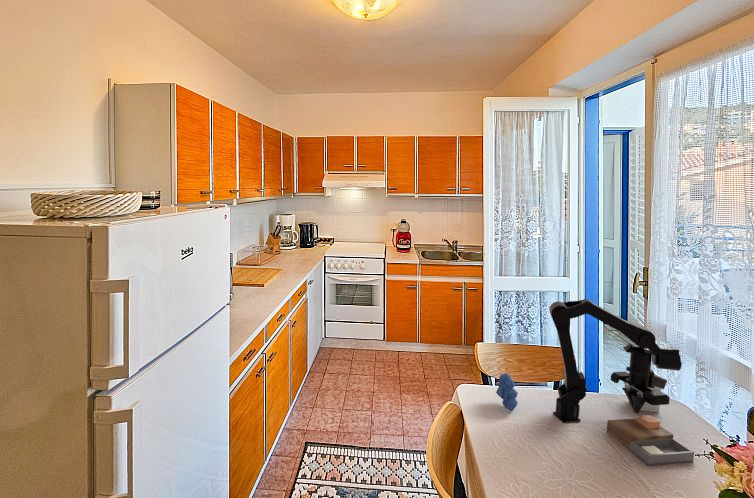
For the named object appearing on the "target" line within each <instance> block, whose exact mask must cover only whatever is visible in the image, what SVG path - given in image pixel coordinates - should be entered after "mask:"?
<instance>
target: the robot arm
mask: <svg viewBox="0 0 754 498" xmlns="http://www.w3.org/2000/svg"><path fill="white" fill-rule="evenodd" d="M548 309H549V313H550V317H551V319H552V321H553V324H554V326H555V328H556V332H557V336H558V342H559V346H560V351H561V356H562V361H563V366H564V375H563V376H564V377H563V379H564V380H563V382H564V383H563V384H561V385H560V386H558V387H557V388H556V389H557V393H558V394H557V395H558V397H556V399H555V401H556V403H555V404H556V405H555V411H552V414H553V416H555V417H556V418H557V419H558V420H560V421H561V422H562V423H579V422H581V421H582V420H581V419H580V418H579V417H580V407H581V406H580V401H582V400H583V399H584V398H585V397H586V396H587V392H588V391H589V390H588V388H587V385H586V378H585V375H584V373H583V372H582V371H581V372H578V368H577V366H578V365H577V362H576V357H575V353H574V348H573V342H572V337H571V333H570V332H571V331H570V328H571V320H572V319H575V318H578V317H579V318H580V317H581V316H584V315H589V316H591V317H593V318H594V319H597V320H598V321H600V322H602V323H603V324H605V325H607V326H609V327H611V328H613V329H615V330H617V331H618V332H620V333H621V334H623V336H625V337H626V338H627V339H629V340H630V341H632V343H633V344H635V346H634V345H632V343H631V342H630V343H628V344H627V345H624V346H623V348H622V349H623V350H624V351H625V352H626V353H629V357H630V358H629V366H625V367H626V369H625V370H626V371H613V373H611V374H610V381H612V382H613V383H614V384H619V382H620V381H621V382H623V384H624V387H622V391H623V392H624V393H625V395H626V398H627V400H628V401H629V404H630V407H631V409H632V411H633V413H635V414H639V413H640V412H641V408H642V406H643V405H644V403H645V402H647V403H649V404H650V405H660V406H667V405H670V400H671V399H670V396H669V395H668V394H666V393H665V392H663V391H662V390H665V388H666V385H667V382H668V380H667V379H665V378H664V377H662V376H661V375H659V374H658V375H659V376H658V375H656V374H654V371H655V370H654V369H651V368H652V367H651V366H652V365H653V366H656V367H655V368H656V369H657V370H658V369H659V370H668V371H677V372H678V371H679V372H680V370H681V369H682V365H683V362H682V359H681V355H680V350H679V348H677V347H661V346H659V345H658V344H657V343H656V336H655V334H654V333H653V332H652V331H651V330H650V329H648V327H646V326H644V325H642V324H639V323H635V322H632V321H628V320H625V319H624V318H622V317H620V316H618V315H616V314H615V313H613V312H610V311H609V310H607V309H605V308H603V307H601V306H600V305H598V304H596V303H594V302H593V301H592V300H590V299H587V298H585V299H581V300H571V301H569V300H568V301H565V302H563V301H553V302H552V303H551V304H550V306H549V308H548ZM655 386H656V387H659V388H661V391H659V390H651V389H649V388H655Z"/></svg>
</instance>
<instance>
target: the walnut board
mask: <svg viewBox="0 0 754 498" xmlns="http://www.w3.org/2000/svg"><path fill="white" fill-rule="evenodd" d="M638 418H639V417H638ZM638 418H636V417H635V418H625V419H624V418H622V419H609V420H607V423H606V434H608V435H610V436H611V437H612V438H613V439H615V441H617V442H618V443H619V444H620V445H622V446H623V447H624V448H626V450H627V451H629V449H630V441H639V440H652V439H666V438H674V434H673V433H672V432H671V431H669V430H668V429H666V428H664V427H663V426H661V425H660V428H650V429H648V428H646V427H645V426H643V425H642V424H641V423H639V422H638Z"/></svg>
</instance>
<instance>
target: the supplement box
mask: <svg viewBox="0 0 754 498" xmlns="http://www.w3.org/2000/svg"><path fill="white" fill-rule="evenodd" d="M653 371H654V374H656V375H658V376H660V375H659V374H658V373H657V372H656V371H655V370H653ZM649 389H651V390H659V391H661V392H662V389H661V388H659V387H656V386H655V388H649ZM660 406H661V405H650V404H649V403H647V402H645V403H644V405H643V406H642V408H641V410H640V412H641V411H643V412H652V413H653V412H654V413H660Z"/></svg>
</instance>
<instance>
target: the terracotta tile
mask: <svg viewBox="0 0 754 498" xmlns="http://www.w3.org/2000/svg"><path fill="white" fill-rule="evenodd" d="M638 422H639V423H641V424H642V425H643V426H645V427H646V428H648V429H650V428H660V426H661V421H660V420H659V419H657V418H656V417H654V416H653V415H651V414H649V415H648V414H645V415H638Z"/></svg>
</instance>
